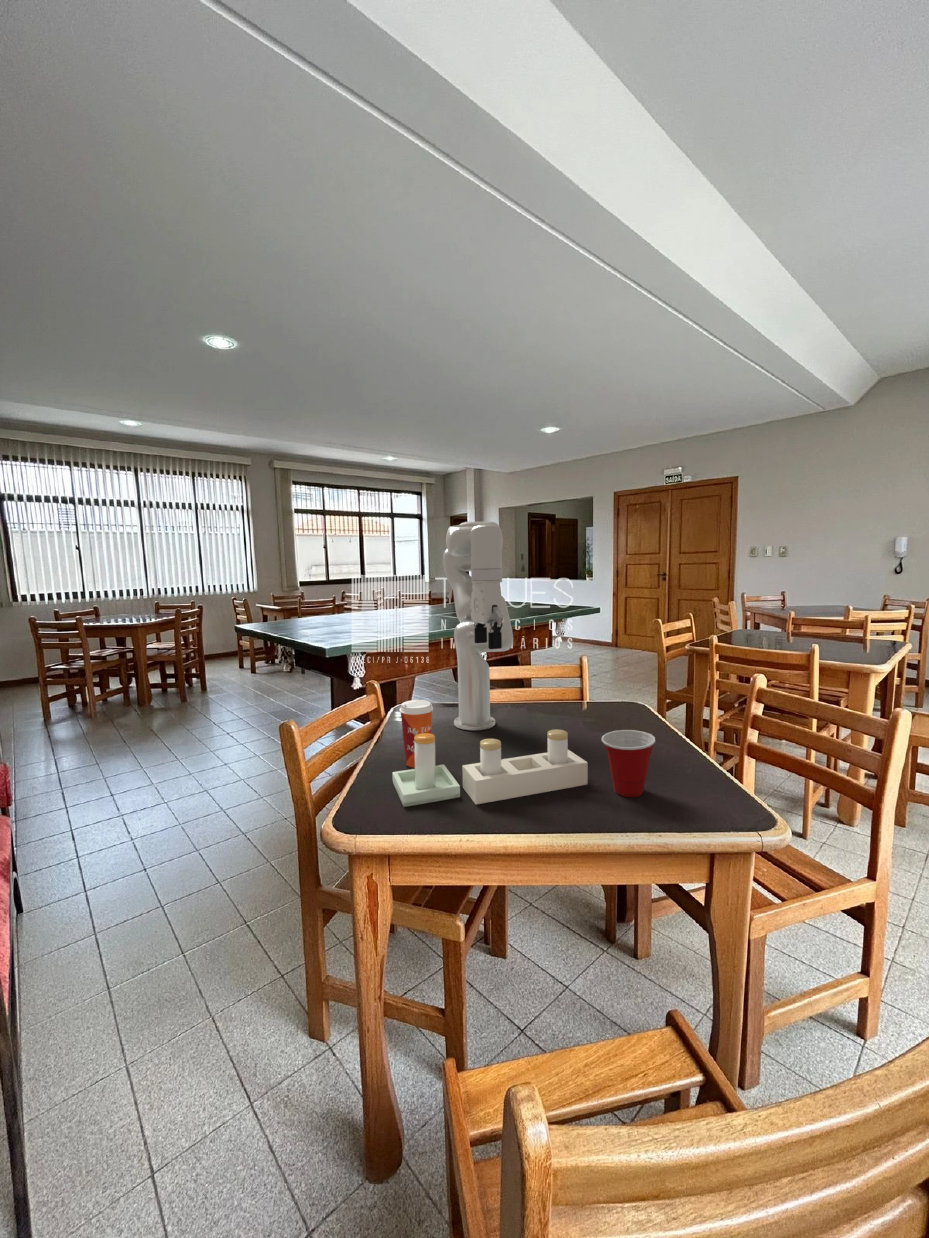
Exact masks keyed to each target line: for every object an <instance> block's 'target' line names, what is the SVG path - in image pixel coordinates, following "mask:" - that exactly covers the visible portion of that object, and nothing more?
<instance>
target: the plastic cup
mask: <svg viewBox="0 0 929 1238" xmlns="http://www.w3.org/2000/svg"><path fill="white" fill-rule="evenodd" d="M601 743H603V745H604V748H605V750H606V753H607V754H606V755H607V760H608V766H609V770H610V776H611V780H612V781H611V782H612V787H613V790H614V792H615V793H616V794H618V795H619V796H621V797H627V798H637V797H641V796H642V795H643V792H644V789H645V784H646V780H647V777H648V776H647V774H648V771H649V770H648V769H649V764H650V759H651V755H652V750H653V747H654V744H655V743H656V737H655V736H654V735H653V734H652V733H649V732H646V731H644V730H643V731H641V730H635V729H622V730H613V731H609V732H606V733H605V734H604V735H602V736H601Z"/></svg>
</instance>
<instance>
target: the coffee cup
mask: <svg viewBox="0 0 929 1238" xmlns="http://www.w3.org/2000/svg"><path fill="white" fill-rule="evenodd" d="M433 710H434V706H433V704H432V703H431V701H428V700H424V699H423V700H422V699H413V700H406V701H404V702H402V703H401V705H400V708H399V713H400V718H401V727H402V728H401V729H402V730H401V731H402V738H403V739H402V740H403V749H404V750H403V751H404V759H405V761H404V762H405V765H406V766H407V767H408V768H411V769H415V739H414V737H415V735H417V734H422V733H430V734H432V723H433V722H432V719H433Z"/></svg>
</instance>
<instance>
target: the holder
mask: <svg viewBox="0 0 929 1238" xmlns="http://www.w3.org/2000/svg"><path fill="white" fill-rule="evenodd" d="M588 763H589V762H587V761H586V760H585V759H583V758H582V757H580V756H579V755H577V754H575V753H574V752H573V751H571V750H570V749H568V763H564V764H558V765H552V764H550V763H549V762H548V751H547V752H542V753H541V752H540V753H535V754H528V755H521V756H516V757H514V756H513V757H508V758H503V759H502V758H501V774H496V775H490V776H484V777H483V776H482V775H481V767H480V762H475V763H469V764H463V765H462V788H463V789H464V791H465V792H466V793H467V795H468V796H469V798H470V799H471V800H472V802H473V803H474V804H475V805H480V804H486V803H492V802H497V801H503V800H510V799H513V798H520V797H524V796H531V795H536V794H542V793H547V792H551V791H552V792H553V791H558V790H564V789H570V788H576V787H581V786H587V785H588V775H589V774H588V771H589V769H588Z"/></svg>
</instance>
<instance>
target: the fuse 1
mask: <svg viewBox="0 0 929 1238" xmlns="http://www.w3.org/2000/svg"><path fill="white" fill-rule="evenodd" d="M479 750H480V752H479V756H480V757H479V760H480V761H479V763H480V767H481V775H482V776H483V777H484V776H490V775H496V774H501V759H502V741H501V740H500V739H497V738H483V739H482V740H480V741H479Z"/></svg>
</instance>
